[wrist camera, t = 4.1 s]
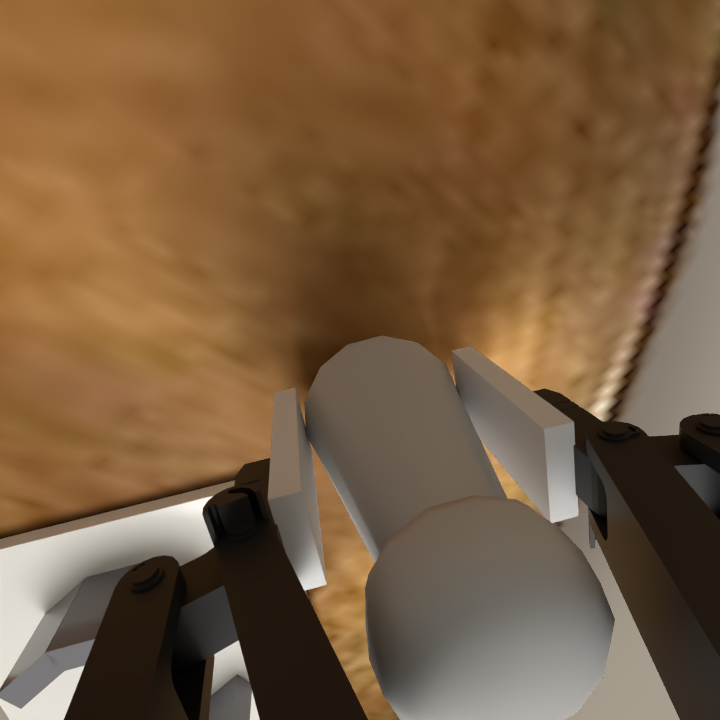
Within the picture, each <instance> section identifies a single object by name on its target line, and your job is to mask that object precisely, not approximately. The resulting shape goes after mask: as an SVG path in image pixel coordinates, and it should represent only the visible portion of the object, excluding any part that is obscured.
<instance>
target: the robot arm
mask: <svg viewBox="0 0 720 720" xmlns="http://www.w3.org/2000/svg"><path fill="white" fill-rule="evenodd" d="M451 353H452V360H453V367H454V375H455V382H456V388H457V391H458V393H459V395H460V397H461V399H462V402H463V404H464V406H465V408H466V410H467V412H468V415H469V417H470V419H471V421H472V423H473V425H474V428H475V430H476V432H477V434H478V436H479V438H480V440H481V442H482V443H483V444H484V445H485V446H486V447H487V449H488V450H489V451H490V452H491V453H492V455H493V456H494V457H495V458H496V459H497V460H498V462H499V463H500V464H501V465H502V466H503V468H504V469H505V470H506V471H507V472H508V474H509V475H510V476H511V477H512V478H513V479H514V481H515V482H516V483H517V484H518V485H519V487H520V488H521V489H522V490H523V491H524V492H525V494H526V495H527V496H528V497H529V498H530V500H531V501H532V502H533V503H534V504H535V505H536V507H537V508H538V509H539V510H540V511H541V513H542V514H543V515H544V516H545V517H546V518H547V520H548V521H550V522H551V523H554V522H558V521H561V520H565V519H569V518H572V517H576V516H578V497H579V498H580V499H581V500H582V501H583V502H584V503H585V504H586V505H587V506H588V514H589V515H588V517H589V542H590V548H595V540H596V539H597V541H598V543H599V545H600V547H601V550H602V552H603V554H604V556H605V558H606V560H607V563H608V565H609V567H610V569H611V571H612V573H613V575H614V578H615V580H616V582H617V584H618V586H619V588H620V590H621V593H622V595H623V597H624V599H625V601H626V603H627V606H628V608H629V610H630V612H631V614H632V616H633V619H634V621H635V623H636V625H637V627H638V630H639V632H640V634H641V636H642V638H643V640H644V643H645V645H646V647H647V649H648V651H649V653H650V656H651V657H652V660H653V662H654V664H655V666H656V669H657V671H658V672H659V675H660V677H661V679H662V682H663V684H664V686H665V687H666V690H667V692H668V695H669V697H670V699H671V701H672V703H673V705H674V707H675V710H676V712H677V714H678V716H679V718H680V720H720V415H719V414H708V413H706V414H698V415H691V416H689V417H686V418H684V419H683V420H682V421H681V422H680V428H679V430H680V431H679V435H669V436H651V437H649V436H647V434H646V433H645V432H644V431H643V430H641V429H640V428H639V427H637V426H634V425H632V424H629V423H624V422H617V421H610V422H602V421H601V420H599V419H598V418H596V417H595V416H593V415H592V414H590V413H589V412H587V411H586V410H584V409H583V408H581V407H579V406H578V405H577V404H575V403H574V402H571V401H570V400H569V399H568V398H566V397H565V396H563V395H562V394H560V393H558V392H554V391H551V390H548V389H541V390H537V391H532V390H530V389H529V388H528V387H526V386H525V385H523V384H522V383H521V382H519V381H518V380H517V379H515V378H514V377H513V376H511V375H510V374H508V373H507V372H506V371H504V370H503V369H502V368H500V367H499V366H498V365H496V364H495V363H493V362H492V361H491V360H489V359H488V358H487V357H485V356H484V355H483V354H481V353H480V352H478V351H477V350H476V349H474V348H473V347H472V346H468V347H464V348H460V349H456V350H452V351H451ZM202 515H203V518H204V521H205V524H206V526H207V529H208V532H209V534H210V537H211V540H212V543H213V545H214V547H213V548H212V549H211V550H209V551H208V552H207V553H205V554H203V555H202V556H200V557H198V558H196V559H194V560H192V561H190V562H188V563H186V564H184V565H182V566H180V565H179V563H178V561H177V560H176V559H175V558H174V557H171V556H166V555H163V556H157V557H153V558H150V559H148V560H145V561H143V562H141V563H139V564H138V565H136V566H134V567H133V568H131V569H130V570H129V571H128V572H127V573H126V574H125V575H124V576H123V577H122V578H121V579H120V580H119V582H118V583H117V585H116V587H115V588H114V591H113V594H112V596H111V599H110V601H109V604H108V607H107V609H106V612H105V614H104V617H103V620H102V622H101V625H100V627H99V630H98V632H97V635H96V638H95V640H94V643H93V645H92V648H91V651H90V653H89V656H88V658H87V661H86V664H85V666H84V669H83V671H82V674H81V676H80V679H79V682H78V684H77V687H76V689H75V692H74V695H73V697H72V700H71V702H70V705H69V708H68V710H67V713H66V715H65V718H64V720H209V710H210V700H211V689H212V679H213V669H214V659H215V657H214V654H216V653H218V652H219V651H221V650H223V649H225V648H226V647H228V646H230V645H232V644H233V643H235V642H237V641H238V640H239V643H240V647H241V651H242V655H243V658H244V662H245V666H246V670H247V674H248V677H249V681H250V685H251V689H252V692H253V696H254V700H255V704H256V707H257V711H258V715H259V719H260V720H368V719H367V717H366V715H365V713H364V711H363V709H362V707H361V705H360V703H359V701H358V699H357V697H356V694H355V692H354V690H353V688H352V686H351V684H350V682H349V680H348V678H347V676H346V674H345V672H344V670H343V668H342V666H341V664H340V662H339V660H338V658H337V656H336V654H335V652H334V650H333V648H332V646H331V644H330V642H329V640H328V638H327V636H326V634H325V631H324V629H323V627H322V625H321V623H320V621H319V619H318V617H317V615H316V613H315V611H314V609H313V607H312V605H311V603H310V601H309V599H308V597H307V595H306V593H305V590H309V589H313V588H316V587H320V586H324V585H327V583H326V574H325V565H324V556H323V546H322V537H321V528H320V519H319V510H318V501H317V492H316V482H315V473H314V464H313V455H312V450H311V446H310V442H309V439H308V437H307V432H306V427H305V423H304V419H303V415H302V412H301V408H300V404H299V400H298V396H297V392H296V389H295V388H291V389H287V390H283V391H279V392H274V407H273V422H272V438H271V454H270V458H268V459H264V460H260V461H256V462H252V463H248V464H245V465H244V466H243V467H242V468H241V470H240V471H239V472H238V474H237V475H236V479H235V484H234V486H233V487H230V488H226V489H225V490H223V491H221V492H219V493H217V494H215V495H214V496H213V497H212V498H211V499H209V500H208V501H207V503H206V504H205V506H204V507H203V512H202Z"/></svg>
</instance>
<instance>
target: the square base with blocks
mask: <svg viewBox="0 0 720 720" xmlns="http://www.w3.org/2000/svg"><path fill="white" fill-rule="evenodd" d="M234 484H235V480H234V481H230V482H226V483H222V484H218V485H214V486H210V487H206V488H202V489H198V490H194V491H190V492H186V493H182V494H178V495H174V496H170V497H166V498H162V499H158V500H154V501H150V502H146V503H142V504H138V505H134V506H130V507H126V508H122V509H118V510H114V511H110V512H106V513H102V514H98V515H94V516H90V517H86V518H82V519H78V520H74V521H70V522H66V523H62V524H58V525H54V526H50V527H46V528H42V529H38V530H34V531H30V532H26V533H22V534H18V535H14V536H10V537H6V538H2V539H0V705H1V707H2V709H3V710H4V712H5V713H6V715H7V716H8V718H9V720H64V718H65V715H66V713H67V710H68V708H69V705H70V702H71V700H72V697H73V695H74V692H75V689H76V687H77V684H78V682H79V679H80V676H81V674H82V671H83V669H84V666H85V664H86V661H87V658H88V656H89V653H90V651H91V648H92V645H93V643H94V640H95V638H96V635H97V632H98V630H99V627H100V625H101V622H102V620H103V617H104V614H105V612H106V609H107V607H108V604H109V601H110V599H111V596H112V594H113V591H114V588H115V587H116V585H117V583H118V582H119V580H120V579H121V578H122V577H123V576H124V575H125V574H126V573H127V572H128V571H129V570H130V569H131V568H133V567H134V566H136V565H138V564H139V563H141V562H143V561H145V560H148V559H150V558H153V557H157V556H163V555H166V556H171V557H174V558H175V559H176V560H177V561H178V563H179V565H180V566H182V565H184V564H186V563H188V562H190V561H192V560H194V559H196V558H198V557H200V556H202V555H203V554H205V553H207V552H208V551H209V550H211V549H212V548H213V547H214V545H213V543H212V540H211V537H210V534H209V532H208V529H207V526H206V524H205V521H204V518H203V515H202V512H203V507H204V506H205V504H206V503H207V501H208V500H209V499H211V498H212V497H213V496H214V495H215V494H217V493H219V492H221V491H223V490H225V489H226V488H230V487H233V486H234ZM305 593H306V595H307V592H306V590H305ZM307 597H308V596H307ZM214 657H215V659H214V669H213V679H212V689H211V700H210V710H209V720H260V719H259V715H258V711H257V707H256V704H255V700H254V696H253V692H252V689H251V685H250V681H249V677H248V674H247V670H246V666H245V662H244V658H243V655H242V651H241V647H240V643H239V640H238V641H237V642H235V643H233V644H232V645H230V646H228V647H226V648H225V649H223V650H221V651H219V652H218V653H216V654H214Z"/></svg>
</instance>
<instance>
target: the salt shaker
mask: <svg viewBox="0 0 720 720" xmlns="http://www.w3.org/2000/svg"><path fill="white" fill-rule="evenodd" d="M304 404H305V421H306V432H307V437H308V439H309V441H310V442H311V444H312V446H313V448H314V450H315V451H316V453H317V455H318V457H319V458H320V460H321V462H322V464H323V466H324V468H325V469H326V471H327V473H328V475H329V477H330V479H331V481H332V483H333V485H334V487H335V488H336V490H337V492H338V494H339V496H340V498H341V500H342V502H343V504H344V506H345V507H346V509H347V511H348V513H349V515H350V517H351V519H352V521H353V523H354V525H355V527H356V528H357V530H358V532H359V534H360V536H361V538H362V540H363V542H364V544H365V546H366V547H367V549H368V551H369V553H370V555H371V557H372V559H373V561H374V563H375V564H374V566H373V568H372V569H371V571H370V573H369V575H368V579H367V583H366V587H365V597H366V634H367V642H368V651H369V660H370V662H371V665H372V667H373V670H374V672H375V675H376V678H377V680H378V683H379V685H380V688H381V690H382V693H383V695H384V696H385V698H386V699H387V701H388V702H389V704H390V705H391V707H392V708H393V710H394V711H395V713H396V714H397V716H398V717H399V719H400V720H566V719H567V718H569V717H570V716H572V715H573V714H575V713H576V712H578V711H579V710H580V708H581V707H582V706H583V704H584V703H585V702H586V700H587V699H588V697H589V696H590V695H591V693H592V692H593V690H594V689H595V687H596V686H597V685H598V683H599V682H600V681H601V679H602V678H603V674H604V669H605V665H606V660H607V656H608V652H609V647H610V643H611V636H612V632H613V626H614V621H615V619H614V616H613V614H612V611H611V608H610V606H609V604H608V601H607V598H606V596H605V594H604V591H603V588H602V586H601V583H600V582H599V580H598V578H597V576H596V575H595V573H594V571H593V570H592V568H591V566H590V564H589V563H588V561H587V559H586V557H585V556H584V554H583V552H582V551H581V550H580V549H579V548H578V547H577V546H576V545H575V544H574V543H573V542H572V541H571V540H570V538H569V537H568V536H567V535H566V534H565V533H564V532H563V531H562V530H561V529H560V528H558V527H557V526H555V525H554V524H553V523H551V522H550V521H548V520H547V519H546V518H544V517H543V516H542V515H540V514H539V513H537V512H536V511H535V510H533V509H532V508H530V507H529V506H528V505H526V504H524V503H522V502H520V501H518V500H515V499H507V497H506V495H505V493H504V490H503V488H502V486H501V484H500V482H499V480H498V477H497V475H496V473H495V471H494V469H493V467H492V464H491V462H490V460H489V458H488V456H487V454H486V451H485V449H484V447H483V445H482V443H481V441H480V438H479V436H478V434H477V432H476V430H475V428H474V425H473V423H472V421H471V419H470V417H469V415H468V412H467V410H466V408H465V406H464V404H463V402H462V399H461V397H460V395H459V393H458V391H457V388H456V386H455V384H454V382H453V379H452V377H451V375H450V373H449V371H448V368H447V366H446V364H445V363H444V362H442V361H441V360H440V359H438V358H437V357H436V356H435V355H433V354H432V353H431V352H429V351H428V350H427V349H426V348H424V347H423V346H422V345H420V344H419V343H417V342H415V341H409V340H404V339H398V338H393V337H388V336H382V335H381V336H377V337H373V338H370V339H366V340H362V341H358V342H354V343H350V344H347V345H346V346H345V347H344V348H342V349H341V350H340V351H339V352H338V353H336V354H335V355H334V356H333V357H332V358H330V359H329V360H328V361H327V362H326V363H324V364H323V365H322V366H321V367H320V369H319V371H318V373H317V376H316V378H315V380H314V382H313V384H312V386H311V388H310V390H309V392H308V394H307V396H306V399H305V402H304Z"/></svg>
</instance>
